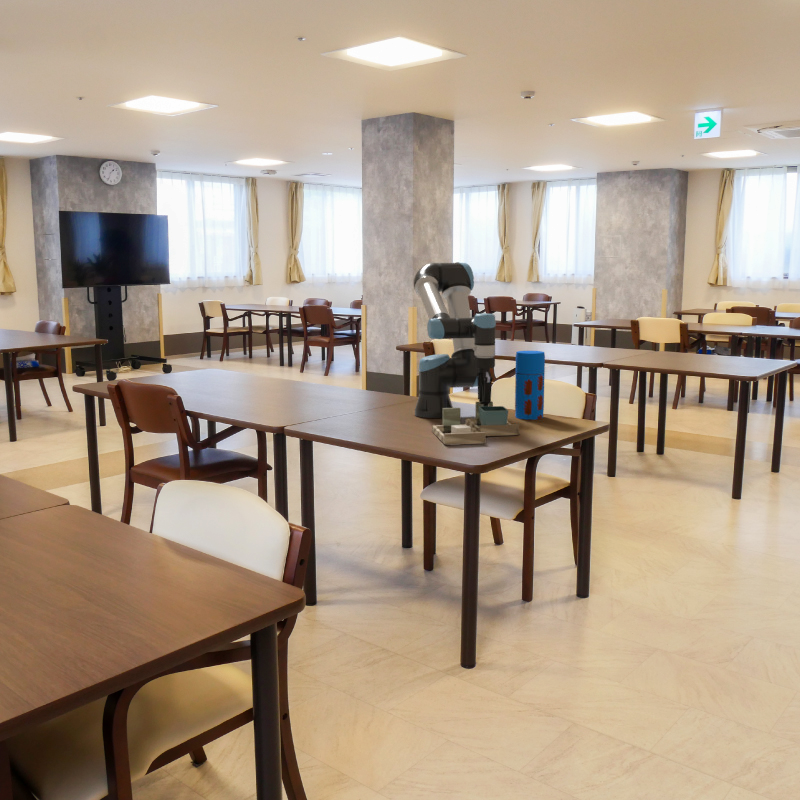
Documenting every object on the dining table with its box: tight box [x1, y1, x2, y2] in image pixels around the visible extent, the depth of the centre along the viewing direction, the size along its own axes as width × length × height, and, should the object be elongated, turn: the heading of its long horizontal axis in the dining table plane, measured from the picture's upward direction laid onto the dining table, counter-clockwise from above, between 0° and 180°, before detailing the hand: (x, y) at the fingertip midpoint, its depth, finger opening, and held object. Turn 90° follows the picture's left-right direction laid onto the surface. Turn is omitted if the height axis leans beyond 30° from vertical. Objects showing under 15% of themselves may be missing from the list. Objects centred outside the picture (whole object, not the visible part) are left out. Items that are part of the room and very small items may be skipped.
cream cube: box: [450, 425, 471, 433], centre depth 277 cm, size 5×5×5 cm
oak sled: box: [464, 400, 520, 437], centre depth 294 cm, size 23×14×8 cm, turn 8°
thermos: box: [514, 350, 546, 421], centre depth 317 cm, size 11×11×25 cm
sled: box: [431, 407, 487, 446], centre depth 281 cm, size 23×14×8 cm, turn 8°
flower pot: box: [479, 405, 509, 425], centre depth 288 cm, size 9×9×9 cm
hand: (484, 420), depth 305 cm, fingers closed on oak sled, 2 cm apart
